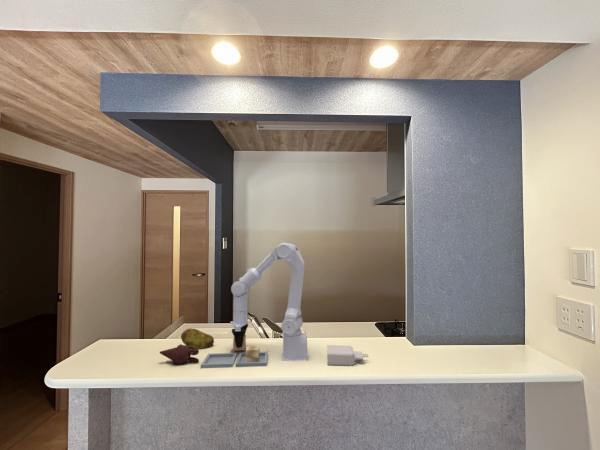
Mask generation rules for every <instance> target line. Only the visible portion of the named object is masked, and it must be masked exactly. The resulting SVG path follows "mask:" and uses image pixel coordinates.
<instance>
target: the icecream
mask: <svg viewBox="0 0 600 450" xmlns="http://www.w3.org/2000/svg"><path fill="white" fill-rule="evenodd" d="M199 353H200V349H194V348H191V349H190V347H189V346H187V345H185V344H183V345H182V343H181V344H178V345H177V346H176V347H173V348H168V349H164V350H161V351H159V354H160V355H162V356H164V357H165V358H168V359H169V360H171V361H172V363H173V364H174V365H182V364H186V363H187V362H189V363H191V364H198V363H200V362H199V361H200V359H199V358H197V357H193V356H197V355H198V354H199Z"/></svg>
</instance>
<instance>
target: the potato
mask: <svg viewBox="0 0 600 450" xmlns="http://www.w3.org/2000/svg"><path fill="white" fill-rule="evenodd" d="M180 338H181V339H180V340H181V341H182V342H183V345H184V346H187V347H189V348H191V349H198V350H202V349H203V350H204V349H208V348H210V347H212V346H213V345H214V343H215V339H214V337H213V336H212V335H210V334H208V333H205V332H203V331H200V330H199V329H197V328H187V329H185V330H184V331H183V332H182V333H181V335H180Z"/></svg>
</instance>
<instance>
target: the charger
mask: <svg viewBox="0 0 600 450" xmlns="http://www.w3.org/2000/svg"><path fill="white" fill-rule="evenodd" d="M326 350H327V354H326V355H327V358H326V363H327V366H348V367H349V366H351V367H352V366H354V365H355V361H364V358H369V355H368V354H367V353H363V352H362V351H359V350H358V351H355V350H354V347H352V346H351V345H336V344H335V345H334V344H333V345H332V344H331V345H330V344H329V345H327V349H326Z"/></svg>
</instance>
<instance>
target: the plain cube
mask: <svg viewBox="0 0 600 450" xmlns="http://www.w3.org/2000/svg"><path fill="white" fill-rule="evenodd" d="M246 348H247V349H246V362H258V361H259V352H260V345H246Z"/></svg>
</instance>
